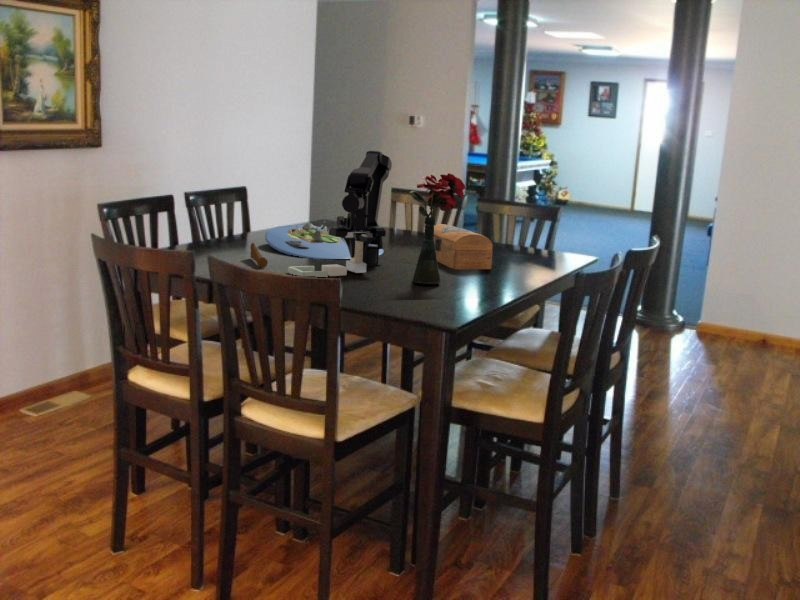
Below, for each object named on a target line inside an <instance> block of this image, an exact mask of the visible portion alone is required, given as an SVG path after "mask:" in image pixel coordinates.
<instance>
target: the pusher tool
mask: <svg viewBox="0 0 800 600" xmlns="http://www.w3.org/2000/svg"><path fill="white" fill-rule="evenodd" d="M362 261H363V241H355V251H354V257H353V258H351V256H350V260H345V267H347V271H349V272H351V273H355V274H360V273H361V274H363V273H367V267H368V266H367V263H363V262H362Z"/></svg>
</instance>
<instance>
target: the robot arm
mask: <svg viewBox="0 0 800 600" xmlns="http://www.w3.org/2000/svg"><path fill="white" fill-rule="evenodd" d="M390 171H392V160H391V158H390V157H389V156H387V155H385V154H383V152H381V151H380V150H367V151H366V153H365V157H364V159H363V161H362V163H361V164H360V166H359V167H358V168H355V169H352V171H351V172H350V173H349V175H348V177H347V180H346V184H345V189H344V193H345V194H346V193H347V195H345V196H344V197H343V199H342V200H341V201H342V202H341V206H342V208H343V210H344V211H345V212H347V217H345V216H343V215H341V216H340V215H339V216H337V217H336V226H330V227H331V228H330V227H329V228H328V229H329V235H331V236H335V237H341V238H343V239H344V240H345V241H346V244H347V246H348V249H349V253H350V256H351V258H353V257H354V251H355V241H363V261H362V262H363V263H367V266H366V267H381V264H380V263H379V258H380V255H379V249H383V250H384V241H383V237H386V235H387V233H386V232H387V230H386V229H385V227H382V226H380V225H379V222H378V218H379V213H380V211H379V210H380V204H381V198H382V192H383V185H384V182H386V180H387V179H388V178H389V175H390ZM354 235H355V237H354ZM369 244H371V245H369ZM376 245H377V246H376Z"/></svg>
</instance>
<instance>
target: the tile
mask: <svg viewBox="0 0 800 600" xmlns="http://www.w3.org/2000/svg"><path fill="white" fill-rule="evenodd" d="M321 271H328V276H329V277H337V276H338V277H339V276H347V274H348V273H347V272H348V270H347V267H346V265H345V266H344V265H341V264H337V263H335V264H321Z"/></svg>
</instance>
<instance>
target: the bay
mask: <svg viewBox="0 0 800 600" xmlns="http://www.w3.org/2000/svg"><path fill="white" fill-rule="evenodd" d="M287 273H288V274H290V275H292V274H293V276H295V275H301V276H316V277H326V278H329V277H328V276H329V275H328V271H322V270H315V265H303V266H302V265H301V266H300V265H299V266H294V265H293V266H288V267H287Z"/></svg>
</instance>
